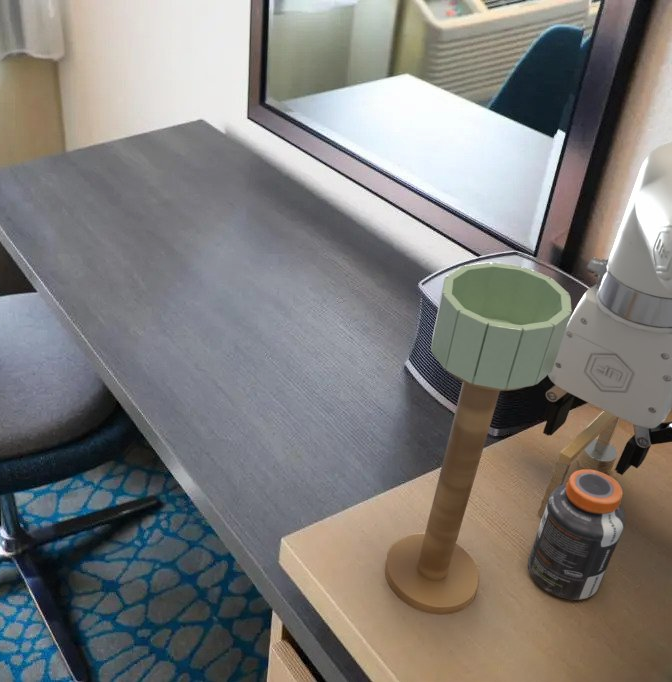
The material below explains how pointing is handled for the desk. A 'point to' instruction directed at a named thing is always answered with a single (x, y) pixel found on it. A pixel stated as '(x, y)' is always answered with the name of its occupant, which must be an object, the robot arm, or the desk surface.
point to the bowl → (500, 325)
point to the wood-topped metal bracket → (586, 452)
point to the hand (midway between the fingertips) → (588, 445)
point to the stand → (446, 517)
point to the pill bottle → (578, 535)
